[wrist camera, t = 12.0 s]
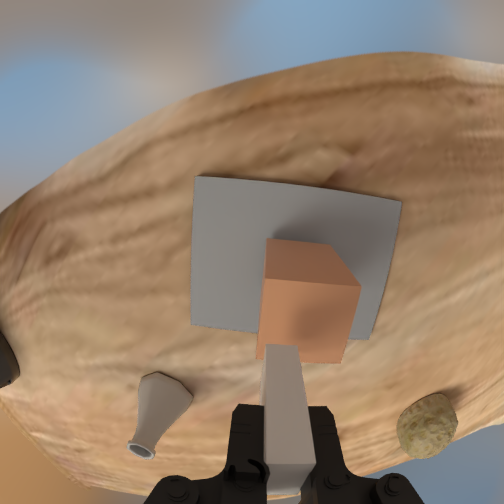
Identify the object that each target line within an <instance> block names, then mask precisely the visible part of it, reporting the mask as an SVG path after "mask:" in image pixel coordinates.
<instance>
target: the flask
mask: <svg viewBox="0 0 504 504" xmlns="http://www.w3.org/2000/svg"><path fill="white" fill-rule="evenodd" d="M192 399H193V396H192V395H191V394H190V393H189V392H188V391H187V390H186V388H185V387H184V386H183V385H182V384H181V383H180V382H179V381H176V380H174V379H172V378H169V377H167V376H165V375H163V374H161V373H158V372H156V373H153V374H150V375H147V376H144V377H141V381H140V386H139V390H138V418H137V428H136V432H135V435H134V437H133V439H132V440H131V441H129V442H128V443H127V449H128V450H129V451H131V452H132V453H133V454H134V455H136V456H139V457H141V458H143V459H153V458H154V456H155V453H156V451H155V450H154V448H155V446H156V444H157V442H158V441H159V439H160V437H161V436H162V434H163V433H164V432H165V431H166V430H167V429H168V428H169V427H170V426H171V425H172V424H173V423H174V422H175V421H176V420H177V419H178V418H179V417H180V416H181V415H182V414H183V413H184V412H185V411H186V410H187V409H188V407H189V405H190V403H191V401H192Z"/></svg>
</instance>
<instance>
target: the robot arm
mask: <svg viewBox="0 0 504 504" xmlns="http://www.w3.org/2000/svg"><path fill="white" fill-rule="evenodd" d="M18 377H19V368H18V364H17V361H16V359H15V357H14V354H13V352H12V350H11V349H10V347H9V345H8V343H7V342H6V340H5V338H4V337H3V335H2V334H1V332H0V388H2V387H5V386H7V385H10V384H12V383H13V382H14V381H15V380H16V379H17V378H18ZM300 490H301V501H300V502H299V504H424V503H423V501H422V499H421V498H420V497H419V495H418V494H417V492H416V491H415V489H414V488H413V486H412V485H411V483H410V482H409V480H408V479H407V478H406V477H405V476H403V475H401V474H398V473H390V474H386V475H384V476H383V477H381V478H380V479H373V478H365V477H360V476H357V475H354V474H353V473H351V472H350V471H349V470H348V469H347V467H346V466H345V463H344V459H343V454H342V450H341V446H340V441H339V437H338V435H337V428H336V424H335V420H334V416H333V414H332V413H331V411H330V410H329V409H328V408H327V406H308V405H307V399H306V393H305V387H304V381H303V375H302V369H301V363H300V357H299V352H298V346H297V345H280V344H266V346H265V353H264V360H263V367H262V374H261V381H260V405H248V404H238V406H237V407H236V408H235V410H234V411H233V413H232V421H231V429H230V437H229V445H228V453H227V461H226V465H225V468H224V469H223V471H222V472H221V473H219V474H218V475H216V476H214V477H212V478H208V479H200V480H190V479H188V478H186V477H183V476H179V475H173V476H167V477H165V478H162V479H161V480H160V481H159V482H158V483H157V484H156V486H155V487H154V489H153V490H152V492H151V493H150V495H149V496H148V498H147V499H146V501H145V502H144V504H267V495H297V494H298V493H299V491H300Z"/></svg>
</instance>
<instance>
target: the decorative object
mask: <svg viewBox="0 0 504 504" xmlns="http://www.w3.org/2000/svg"><path fill="white" fill-rule="evenodd" d="M457 425H458V420H457V417H456V413H455V411H454V409H453V407H452V406H451V404H450V401H449V400H448V398H447V397H446V396H445V395H443V394H441V393H440V394H432V395H430V396H427V397H424V398H422V399H421V400H419V401H417V402H416V403H414V404H412V405H411V406H409V407H408V408H407V409H406V410H405V411H404V412H403V414H402V415H400V417H399V419H398V423H397V435H398V438H399V441H400V444H401V448H402V449H403V450H404V451H405V452H406V453H407V454H408V455H409V456H410V457H415V458H420V459H424V458H430V457H433V456H435V455H437V454H438V453H440V452H441V451H442V450H443V449H445V448H446V447H447V445H448V444H449V443H450V441H451V439H452V438H453V437H454V434H455V432H456V428H457Z"/></svg>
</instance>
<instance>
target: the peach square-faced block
mask: <svg viewBox="0 0 504 504" xmlns="http://www.w3.org/2000/svg"><path fill="white" fill-rule="evenodd" d="M361 288H362V286H361V285H360V283H359V282H358V281H357V279H356V278H355V277H354V275H353V274H352V273H351V271H350V270H349V269H348V267H347V266H346V265H345V263H344V262H343V261H342V259H341V258H340V257H339V256H338V254H337V253H336V252H335V250H334V249H333V248H332V247H331V245H329V244H320V243H310V242H301V241H291V240H281V239H271V238H267V239H266V249H265V258H264V268H263V277H262V287H261V296H260V310H259V323H258V336H257V349H256V359H262V360H264V353H265V346H266V344H280V345H297V346H298V352H299V357H300V362H306V363H341V360H342V357H343V354H344V351H345V347H346V344H347V341H348V337H349V334H350V331H351V327H352V323H353V320H354V316H355V312H356V308H357V305H358V301H359V297H360V292H361Z"/></svg>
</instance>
